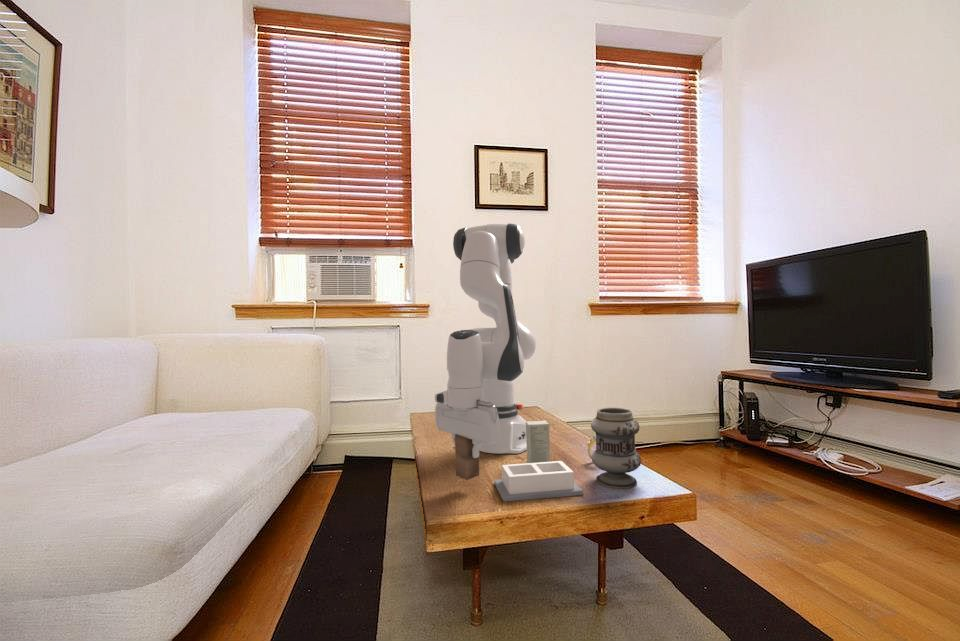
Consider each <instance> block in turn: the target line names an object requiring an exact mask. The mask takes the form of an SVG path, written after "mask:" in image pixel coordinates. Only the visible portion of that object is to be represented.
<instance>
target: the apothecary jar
mask: <svg viewBox="0 0 960 641" xmlns="http://www.w3.org/2000/svg"><path fill="white" fill-rule="evenodd" d="M590 428H591V430H592V431H593V432H594V433H595V434H596V442H595V450H593V452H592V453H591V458H592V459H591V458H590V459H591V461H592V463H593V464H594V466H595V467H596V468H598V469H599V470H602V471H603V472H602V473H600V474H599V475H598V474H597V476H596V477H595V479H596V480H595V481H596V482H597V483H598V484H600V485H601V486H603V487H607V488H611V489H612V488H613V489H629V488H633V487H635V486H637V484H638V481H637V479H636V478H635V477H634V476H633V475H631V474H629V473H631V472H634V471H636V470H637V469H638V468H640V466H641V464H642V457H641V456H640V454H639V452H637V450H636V441H635V440H636V439H635V438H636V436H635V435H636V434H638V433H639V431H640V429H641V428H640V424H639V422H638V420H637V419H635V418H634V416H633V412H632V409H628V408H625V407H602V408H599V409H597V410H596V416H595V417H594V418H593V419H592V420H591V421H590Z"/></svg>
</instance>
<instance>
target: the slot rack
mask: <svg viewBox="0 0 960 641" xmlns="http://www.w3.org/2000/svg"><path fill="white" fill-rule="evenodd" d="M493 482H494V485H495V488H496V489H497V491H498V493H499V495H500V497H501V499H502V501H503V502H515V501H526V500H537V499H549V498H559V497H562V498H563V497H575V496H582V495H584V489H582V488H581V487H580V486H579V485H578V484H577V483H576V482H575V471H573V470H572V469H571V468H570V467H569V466H568V465H567V464H565V462H563V461H562V460H557V461H556V460H555V461H554V460H553V461H550V462H538V463H527V462H525V463H513V464H512V463H511V464H502V465H501V479H494V481H493Z"/></svg>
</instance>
